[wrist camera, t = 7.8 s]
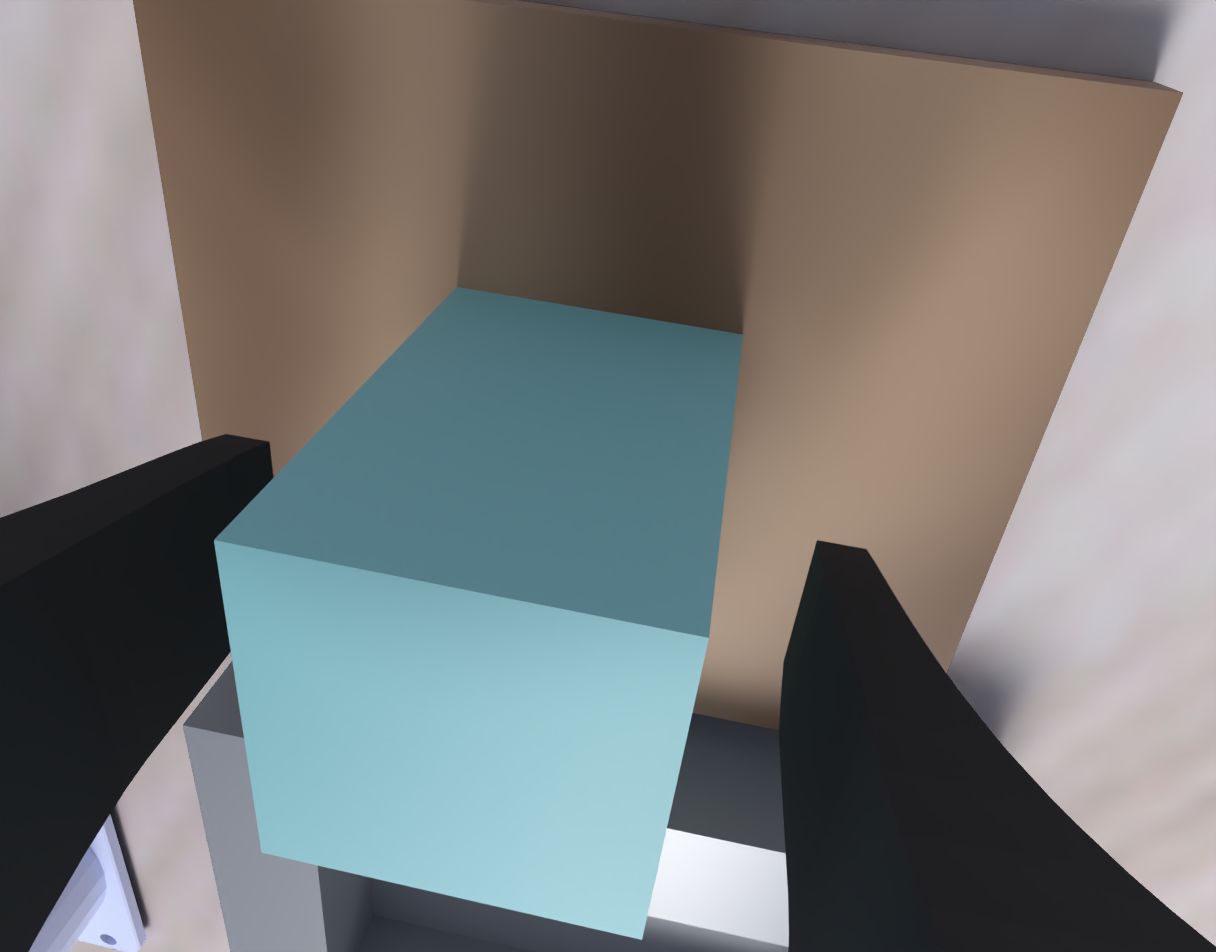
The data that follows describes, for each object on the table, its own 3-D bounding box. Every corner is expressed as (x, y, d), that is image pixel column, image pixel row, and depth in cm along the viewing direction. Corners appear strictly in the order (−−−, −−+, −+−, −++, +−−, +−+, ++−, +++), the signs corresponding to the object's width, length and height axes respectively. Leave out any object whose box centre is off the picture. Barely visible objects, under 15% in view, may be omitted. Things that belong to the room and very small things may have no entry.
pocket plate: (301, 936, 26) (249, 1042, 24) (259, 626, 20) (182, 725, 17) (850, 1063, 25) (858, 1191, 22) (991, 771, 19) (1023, 904, 16)
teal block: (452, 522, 16) (261, 852, 10) (456, 286, 14) (214, 539, 8) (695, 569, 16) (642, 940, 10) (743, 334, 14) (709, 637, 8)
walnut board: (254, 591, 19) (230, 620, 19) (168, -45, 13) (126, -44, 12) (906, 718, 18) (912, 756, 17) (1155, 81, 12) (1183, 92, 11)
